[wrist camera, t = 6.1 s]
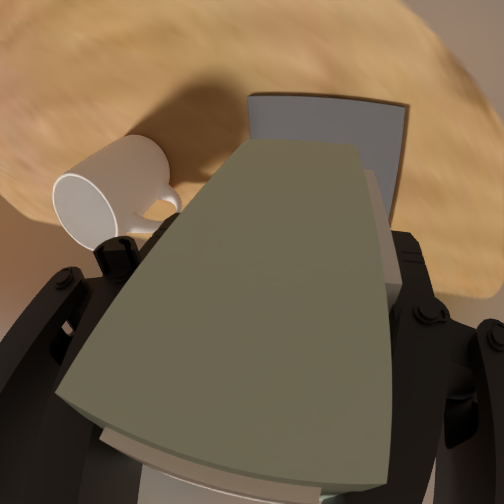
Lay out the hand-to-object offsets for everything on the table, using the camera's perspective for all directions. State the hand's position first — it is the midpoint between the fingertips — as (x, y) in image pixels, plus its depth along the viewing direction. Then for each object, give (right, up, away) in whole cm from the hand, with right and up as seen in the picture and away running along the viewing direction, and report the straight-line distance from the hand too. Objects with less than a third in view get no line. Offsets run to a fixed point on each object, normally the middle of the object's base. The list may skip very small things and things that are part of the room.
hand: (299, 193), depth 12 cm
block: (0, 0, 0) cm, 0 cm away
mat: (+5, +5, +14) cm, 16 cm away
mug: (-13, +7, +19) cm, 25 cm away
